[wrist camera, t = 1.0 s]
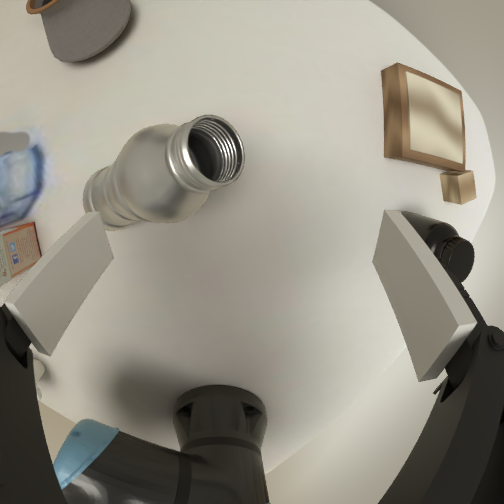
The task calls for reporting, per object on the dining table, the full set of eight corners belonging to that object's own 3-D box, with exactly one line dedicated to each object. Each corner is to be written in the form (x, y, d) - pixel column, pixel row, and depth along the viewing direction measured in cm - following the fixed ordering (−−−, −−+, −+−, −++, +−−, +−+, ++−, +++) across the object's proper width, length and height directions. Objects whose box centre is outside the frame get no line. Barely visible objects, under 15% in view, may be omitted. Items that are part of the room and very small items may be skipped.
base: (446, 170, 31) (466, 172, 27) (384, 157, 30) (403, 156, 25) (443, 94, 27) (462, 90, 23) (381, 71, 26) (398, 61, 22)
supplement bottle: (418, 206, 32) (482, 225, 20) (420, 253, 34) (477, 283, 22) (379, 215, 32) (442, 238, 20) (383, 265, 34) (438, 303, 22)
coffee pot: (155, 8, 21) (123, -62, 7) (99, 78, 23) (30, 34, 9) (60, -9, 16) (17, -48, 2) (16, 48, 19) (-41, 24, 4)
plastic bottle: (107, 161, 26) (216, 69, 12) (144, 203, 30) (279, 165, 16) (67, 201, 23) (123, 131, 9) (108, 244, 27) (221, 246, 13)
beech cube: (458, 194, 32) (476, 198, 28) (443, 200, 32) (461, 204, 28) (454, 169, 31) (472, 170, 27) (439, 174, 31) (457, 176, 27)
